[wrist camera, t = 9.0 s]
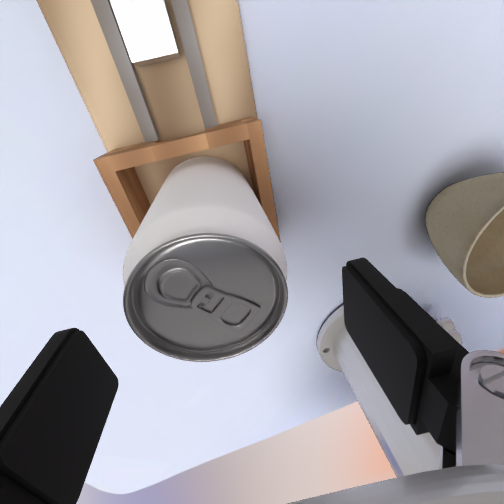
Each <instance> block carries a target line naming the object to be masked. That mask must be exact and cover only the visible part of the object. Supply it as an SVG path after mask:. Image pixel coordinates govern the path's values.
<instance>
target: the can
mask: <svg viewBox="0 0 504 504" xmlns="http://www.w3.org/2000/svg"><path fill="white" fill-rule="evenodd" d="M286 279H287V263H286V258H285V254H284V251H283V248H282V246H281V243H280V241H279V239H278V237H277V235H276V233H275V231H274V229H273V227H272V225H271V223H270V222H269V220H268V218H267V216H266V214H265V212H264V210H263V209H262V207H261V205H260V203H259V201H258V199H257V198H256V196H255V194H254V192H253V190H252V189H251V187H250V185H249V183H248V182H247V180H246V178H245V177H244V175H243V174H242V173H241V172H240V171H239V170H238V169H237V168H236V167H235V166H234V165H232V164H231V163H229V162H227V161H225V160H223V159H220V158H217V157H212V156H199V157H194V158H190V159H188V160H186V161H184V162H182V163H180V164H179V165H177V166H176V167H175V168H174V169H173V170H172V171H171V172H170V174H169V175H168V177H167V178H166V180H165V182H164V184H163V185H162V187H161V189H160V190H159V192H158V194H157V196H156V198H155V199H154V201H153V203H152V205H151V206H150V208H149V210H148V212H147V214H146V215H145V217H144V219H143V221H142V223H141V225H140V226H139V228H138V230H137V232H136V234H135V236H134V238H133V240H132V242H131V244H130V246H129V249H128V251H127V254H126V258H125V262H124V267H123V280H124V286H125V288H124V294H123V307H124V312H125V316H126V319H127V321H128V323H129V325H130V327H131V328H132V330H133V331H134V333H135V334H136V335H137V336H138V337H139V338H140V339H141V340H142V341H143V342H144V343H145V344H147V345H148V346H149V347H151V348H153V349H154V350H156V351H158V352H160V353H162V354H164V355H167V356H170V357H173V358H176V359H180V360H186V361H195V362H209V361H218V360H223V359H228V358H231V357H235V356H238V355H240V354H243V353H245V352H247V351H249V350H251V349H253V348H254V347H256V346H257V345H259V344H260V343H262V342H263V341H264V340H265V339H267V338H268V337H269V336H270V335H271V334H272V333H273V331H274V330H275V329H276V328H277V326H278V325H279V323H280V321H281V320H282V318H283V315H284V313H285V310H286V306H287V301H288V289H287V283H286Z"/></svg>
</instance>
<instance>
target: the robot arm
mask: <svg viewBox="0 0 504 504" xmlns="http://www.w3.org/2000/svg"><path fill="white" fill-rule="evenodd" d="M342 280H343V304H344V305H342V306H341V307H340V308H338V309H337V310H336V311H335V312H334V313H333V314H332V315H331V316H330V317H329V318H328V319H327V320H326V322H325V323H324V324H323V326H322V328H321V330H320V332H319V335H318V339H317V348H318V351H319V354H320V356H321V358H322V360H323V362H324V363H325V364H326V365H327V366H329V367H331V368H332V369H335V370H338V371H341V372H343V373H344V375H345V377H346V379H347V381H348V383H349V385H350V387H351V389H352V391H353V392H354V394H355V396H356V398H357V400H358V402H359V404H360V406H361V408H362V410H363V412H364V414H365V416H366V418H367V420H368V421H369V424H370V425H371V428H372V430H373V432H374V434H375V436H376V437H377V439H378V441H379V443H380V445H381V447H382V449H383V451H384V453H385V455H386V457H387V459H388V461H389V463H390V465H391V467H392V469H393V471H394V473H395V475H396V477H397V478H393V479H389V480H385V481H380V482H375V483H371V484H367V485H362V486H358V487H353V488H349V489H345V490H341V491H337V492H333V493H329V494H325V495H321V496H317V497H313V498H309V499H305V500H300V501H296V502H292V503H288V504H504V354H503V353H500V352H494V351H488V350H481V351H474V352H471V353H469V352H468V351H467V350H466V349H465V348H464V347H463V346H462V345H461V343H462V338H461V336H460V334H459V333H458V332H457V330H455V326H454V323H453V322H452V320H451V319H449V318H444V319H440V320H436V321H435V320H434V319H433V318H432V317H431V316H430V315H429V314H428V313H427V312H426V311H425V310H423V309H422V308H421V307H420V306H419V305H418V304H417V303H416V302H415V301H414V300H413V299H412V298H411V297H410V296H409V295H408V294H407V293H405V292H404V291H403V290H402V289H398V288H396V287H394V286H393V285H392V284H391V283H390V282H389V281H388V280H387V279H386V278H385V277H384V276H383V275H382V274H381V273H380V272H379V271H378V270H377V269H376V268H375V267H374V266H373V265H372V264H371V263H370V262H369V261H368V260H367V259H365V258H359V259H355V260H351V261H348V262H347V264H346V266H344V267H343V268H342ZM117 389H118V379H117V377H116V375H115V374H114V373H113V371H112V370H111V368H110V367H109V366H108V364H107V363H106V362H105V360H104V359H103V357H102V356H101V355H100V353H99V352H98V351H97V349H96V348H95V346H94V345H93V344H92V342H91V341H90V340H89V338H88V337H87V335H86V334H85V333H84V332H83V331H80V330H79V329H77V328H71V329H67V330H63V331H59V332H56V333H55V334H54V335H53V336H52V337H51V338H50V340H49V341H48V342H47V344H46V345H45V347H44V348H43V349H42V351H41V352H40V353H39V355H38V356H37V357H36V359H35V360H34V362H33V363H32V364H31V366H30V367H29V368H28V370H27V371H26V372H25V374H24V375H23V377H22V378H21V379H20V381H19V382H18V383H17V385H16V386H15V387H14V389H13V390H12V392H11V393H10V394H9V396H8V397H7V398H6V400H5V401H4V402H3V404H2V405H1V407H0V504H76V502H77V501H78V498H79V496H80V493H81V490H82V487H83V484H84V482H85V479H86V476H87V473H88V470H89V468H90V465H91V462H92V459H93V456H94V454H95V451H96V448H97V445H98V442H99V440H100V437H101V434H102V431H103V428H104V425H105V423H106V420H107V417H108V414H109V411H110V409H111V406H112V403H113V400H114V397H115V395H116V392H117Z"/></svg>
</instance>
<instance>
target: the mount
mask: <svg viewBox="0 0 504 504" xmlns="http://www.w3.org/2000/svg"><path fill="white" fill-rule="evenodd" d="M165 1H166V5H167V9H168V12H169V16H170V20H171V23H172V27H173V30H174V34H175V38H176V41H177V45H178V49H179V52H180V56H181V58H179V59H174V60H170V61H166V62H161V63H157V64H152V65H148V66H144V67H139V66H137V65H135V64H133V63H132V62H131V59H130V56H129V53H128V50H127V48H126V45H125V42H124V39H123V37H122V34H121V31H120V28H119V25H118V23H117V20H116V17H115V14H114V11H113V9H112V6H111V3H110V0H37V2H38V4H39V7H40V9H41V11H42V13H43V15H44V17H45V19H46V22H47V24H48V26H49V28H50V30H51V32H52V34H53V37H54V39H55V41H56V43H57V45H58V47H59V49H60V52H61V54H62V56H63V58H64V60H65V62H66V64H67V67H68V69H69V71H70V73H71V75H72V77H73V79H74V82H75V84H76V86H77V88H78V90H79V92H80V94H81V97H82V99H83V101H84V103H85V105H86V107H87V109H88V112H89V114H90V116H91V118H92V120H93V122H94V124H95V127H96V129H97V131H98V133H99V135H100V137H101V139H102V142H103V144H104V146H105V148H106V150H107V152H108V153H106V154H104V155H102V156H100V157H98V158H96V159H94V160H93V161H94V163H95V165H96V167H97V169H98V171H99V173H100V175H101V177H102V179H103V181H104V183H105V185H106V187H107V189H108V191H109V193H110V195H111V197H112V199H113V201H114V203H115V204H116V206H117V208H118V210H119V212H120V214H121V216H122V218H123V220H124V222H125V224H126V226H127V228H128V230H129V232H130V234H131V236H132V238H134V236H135V234H136V232H137V230H138V228H139V226H140V225H141V223H142V221H143V219H144V217H145V215H146V214H147V212H148V210H149V208H150V206H151V205H152V203H153V201H154V199H155V198H156V196H157V194H158V192H159V190H160V189H161V187H162V185H163V184H164V182H165V180H166V178H167V177H168V175H169V174H170V172H171V171H172V170H173V169H174V168H175V167H176V166H177V165H179V164H180V163H182V162H184V161H186V160H188V159H190V158H194V157H199V156H212V157H217V158H220V159H223V160H225V161H227V162H229V163H231V164H232V165H234V166H235V167H236V168H237V169H238V170H239V171H240V172H241V173H242V174H243V175H244V177H245V178H246V180H247V182H248V183H249V185H250V187H251V189H252V190H253V192H254V194H255V196H256V198H257V199H258V201H259V203H260V205H261V207H262V209H263V210H264V212H265V214H266V216H267V218H268V220H269V222H270V223H271V225H272V227H273V229H274V231H275V233H276V235H277V237H278V239H279V241H280V235H279V229H278V223H277V217H276V211H275V204H274V198H273V192H272V186H271V180H270V174H269V167H268V161H267V155H266V149H265V143H264V137H263V131H262V124H261V120H259V119H257V113H256V107H255V101H254V95H253V89H252V83H251V77H250V71H249V65H248V59H247V53H246V47H245V41H244V36H243V30H242V24H241V18H240V12H239V6H238V0H165ZM280 243H281V241H280Z"/></svg>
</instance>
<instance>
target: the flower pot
mask: <svg viewBox="0 0 504 504" xmlns="http://www.w3.org/2000/svg"><path fill="white" fill-rule="evenodd" d="M425 221H426V226H427V231H428V234H429V237H430V240H431V242H432V244H433V246H434V248H435V250H436V252H437V254H438V256H439V257H440V259H441V260H442V262H443V263H444V264H445V266H446V267H447V268H448V270H449V271H450V272H451V273H452V274H453V275H454V277H455V278H456V279H457V280H458V281H459V282H460V283H461V284H462V285H463V286H464V287H465V288H467V289H468V290H469V291H470V292H471V293H473V294H475V295H477V296H480V297H488V298H492V297H500V296H504V172H501V173H494V174H488V175H483V176H478V177H474V178H470V179H467V180H463V181H460V182H457V183H454V184H452V185H450V186H448V187H446V188H445V189H443V190H442V191H441V192H440V193H439V194H438V195H437V196H436V197H435V198H434V199H433V200H432V202H431V203H430V205H429V207H428V209H427V212H426V217H425Z"/></svg>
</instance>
